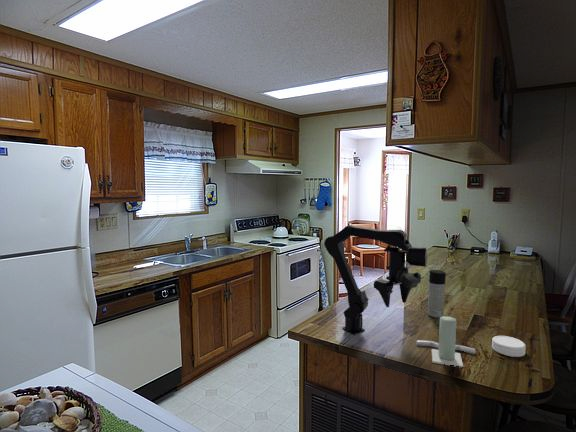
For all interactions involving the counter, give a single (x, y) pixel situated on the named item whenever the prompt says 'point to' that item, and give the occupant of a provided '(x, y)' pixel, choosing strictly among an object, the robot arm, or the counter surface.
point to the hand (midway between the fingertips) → (395, 304)
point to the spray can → (436, 293)
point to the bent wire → (436, 345)
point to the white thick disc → (508, 346)
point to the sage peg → (447, 338)
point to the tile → (437, 359)
